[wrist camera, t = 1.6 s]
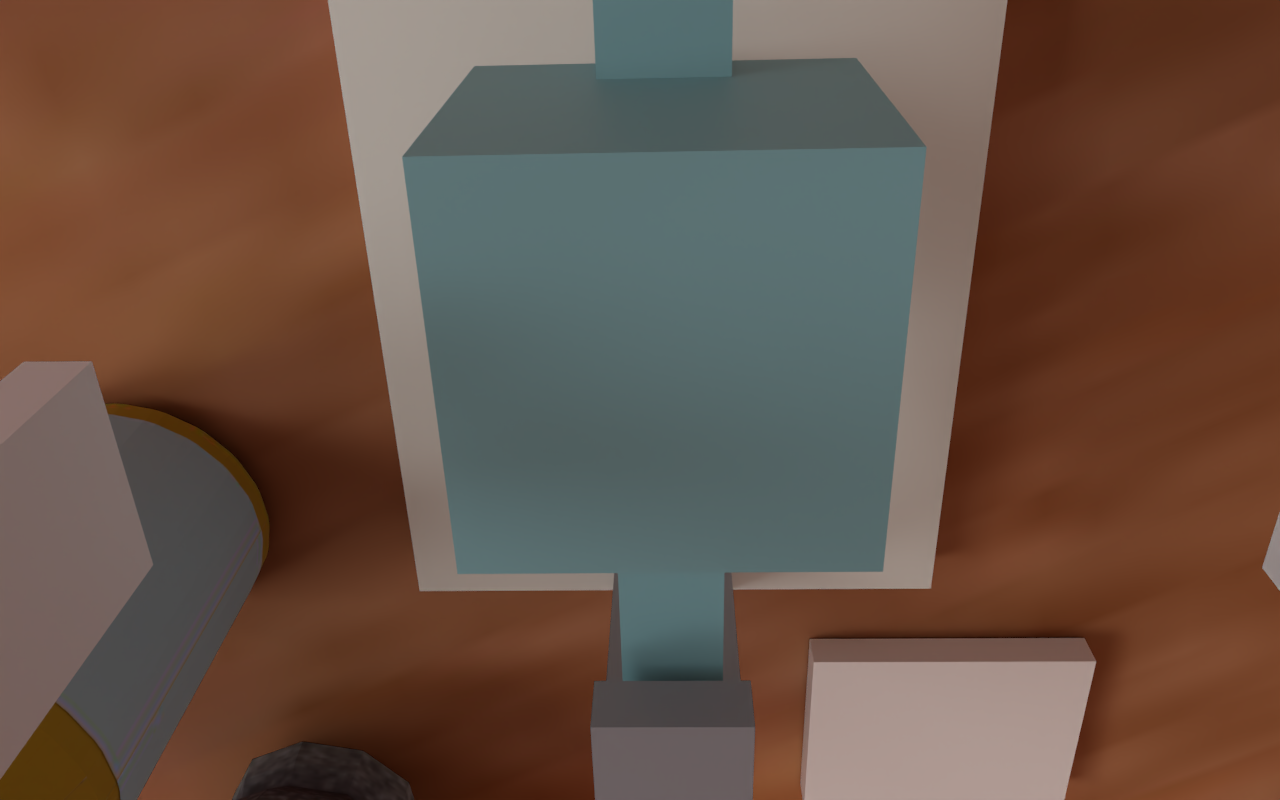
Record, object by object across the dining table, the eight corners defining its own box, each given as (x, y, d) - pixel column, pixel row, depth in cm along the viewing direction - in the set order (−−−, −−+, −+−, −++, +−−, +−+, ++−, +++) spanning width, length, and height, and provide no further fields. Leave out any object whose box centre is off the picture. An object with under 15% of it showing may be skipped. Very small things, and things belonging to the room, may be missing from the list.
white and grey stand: (428, 564, 31) (313, 917, 21) (263, -544, 19) (-172, -938, 9) (921, 561, 30) (1044, 920, 20) (1062, -576, 19) (1507, -1027, 9)
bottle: (235, 379, 28) (-153, 880, 15) (306, 591, 31) (39, 1156, 18) (-17, 403, 28) (-612, 907, 15) (78, 609, 32) (-343, 1170, 19)
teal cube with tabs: (532, 670, 23) (498, 883, 18) (423, -461, 14) (300, -602, 9) (814, 670, 23) (850, 884, 18) (893, -480, 14) (1007, -633, 9)
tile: (800, 783, 34) (803, 808, 34) (809, 638, 32) (813, 662, 31) (1052, 783, 34) (1062, 809, 33) (1084, 637, 31) (1096, 661, 30)
